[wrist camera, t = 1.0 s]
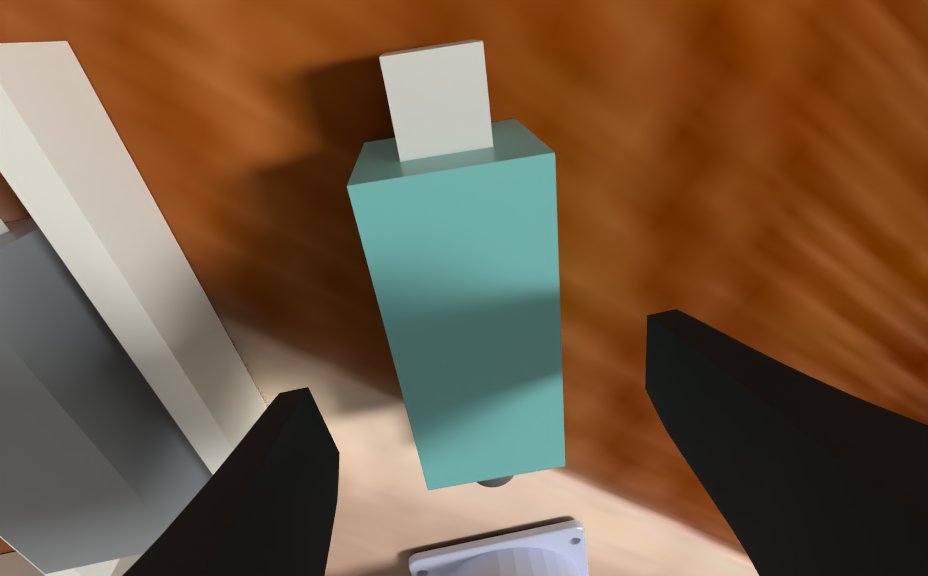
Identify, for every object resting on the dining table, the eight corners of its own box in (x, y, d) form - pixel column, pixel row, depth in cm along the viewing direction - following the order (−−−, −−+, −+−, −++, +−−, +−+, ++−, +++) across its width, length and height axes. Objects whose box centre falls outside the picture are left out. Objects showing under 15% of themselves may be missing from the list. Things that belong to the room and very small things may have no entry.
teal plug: (535, 415, 18) (567, 508, 14) (433, 432, 18) (438, 531, 14) (507, 32, 11) (551, 33, 8) (344, 57, 11) (315, 69, 8)
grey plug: (251, 473, 18) (212, 582, 14) (149, 495, 18) (86, 608, 14) (31, 128, 11) (-140, 173, 8) (-129, 162, 11) (-370, 222, 8)
